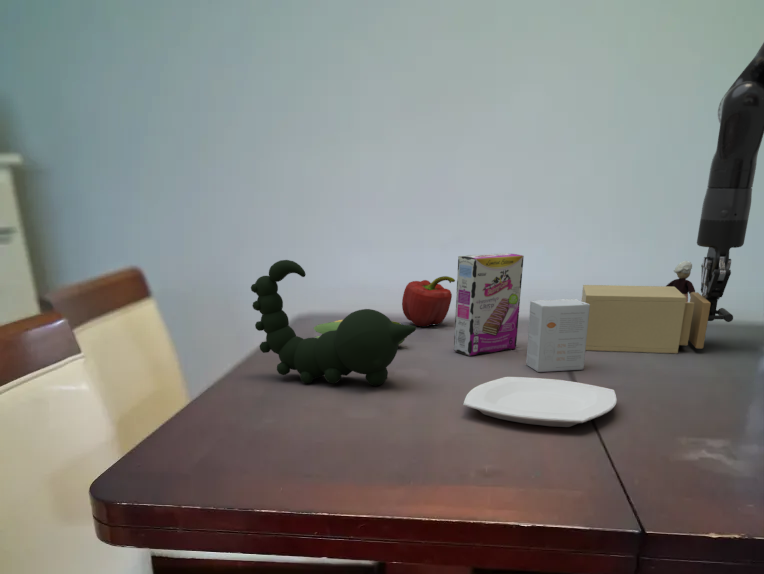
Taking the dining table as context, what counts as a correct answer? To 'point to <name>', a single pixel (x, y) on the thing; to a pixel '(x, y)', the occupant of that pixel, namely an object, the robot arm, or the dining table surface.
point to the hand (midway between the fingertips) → (706, 320)
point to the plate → (541, 401)
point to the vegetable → (426, 301)
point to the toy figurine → (326, 337)
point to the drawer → (698, 320)
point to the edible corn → (335, 328)
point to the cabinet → (634, 318)
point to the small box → (557, 335)
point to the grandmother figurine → (683, 279)
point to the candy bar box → (487, 303)
